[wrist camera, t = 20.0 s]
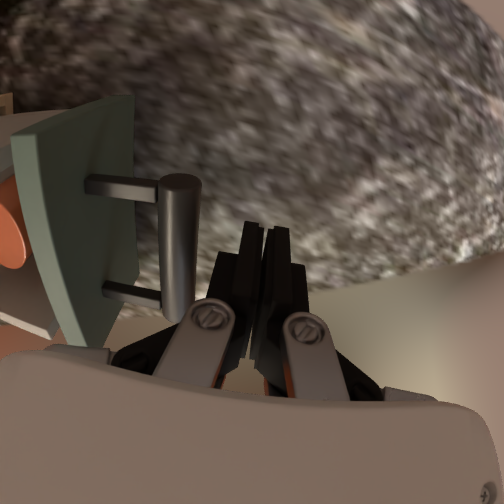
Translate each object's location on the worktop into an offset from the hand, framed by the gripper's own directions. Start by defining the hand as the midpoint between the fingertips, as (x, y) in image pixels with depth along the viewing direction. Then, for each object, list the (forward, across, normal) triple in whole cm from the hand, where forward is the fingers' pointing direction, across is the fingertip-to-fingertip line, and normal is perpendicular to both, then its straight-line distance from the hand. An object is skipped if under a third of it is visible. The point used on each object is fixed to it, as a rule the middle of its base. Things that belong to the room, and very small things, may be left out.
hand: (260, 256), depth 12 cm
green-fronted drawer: (+3, +11, 0) cm, 11 cm away
